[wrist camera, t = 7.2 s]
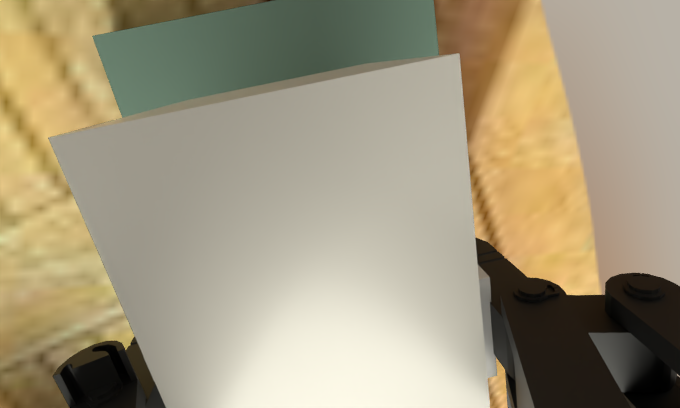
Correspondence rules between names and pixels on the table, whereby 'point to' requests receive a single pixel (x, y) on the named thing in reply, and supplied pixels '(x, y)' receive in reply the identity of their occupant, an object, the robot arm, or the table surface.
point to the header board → (259, 47)
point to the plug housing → (295, 240)
